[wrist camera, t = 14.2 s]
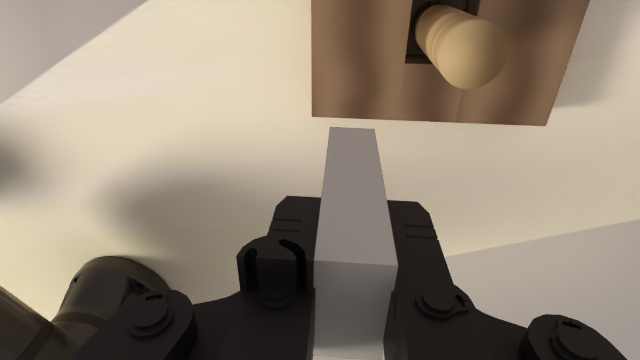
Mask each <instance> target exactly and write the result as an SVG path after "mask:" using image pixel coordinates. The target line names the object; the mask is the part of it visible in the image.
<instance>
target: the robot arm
mask: <svg viewBox="0 0 640 360" xmlns="http://www.w3.org/2000/svg"><path fill="white" fill-rule="evenodd" d="M236 258H237V266H238V274H239V282H240V291H239V292H237V293H235V294H233V295H231V296H229V297H226V298H222V299H219V300H214V301H209V302H204V303H199V304H194V305H192V303H191V302H190V300H189V298H188V297H187V296H186V295H184V294H183V293H181V292H179V291H177V290H170V289H169V287H168V286H167V285H166V283H165V282H164V281H163V280H162V279H161V278H160V277H159V276H158V275H157V274H155V273H154V272H153V271H151V270H150V269H148V268H147V267H145V266H143V265H141V264H139V263H136V262H134V261H131V260H127V259H124V258H118V257H100V258H96V259H93V260H91V261H89V262H87V263H86V264H85V265H84V266H83V267H82V268H81V269H80V270H79V271H78V272H77V273H76V275H75V276H74V277H73V279H72V281H71V283H70V286H69V288H68V290H67V292H66V295H65V297H64V299H63V302H62V304H61V307H60V309H59V311H58V313H57V315H56V316H55V317H54V319H53V320H52V321H51V322H50V321H48V320H47V319H46V318H44V317H43V316H42V315H40V314H39V313H37V312H36V311H35V310H33V309H32V308H31V307H29V306H28V305H26V304H25V303H24V302H22V301H21V300H19V299H18V298H17V297H15V296H14V295H13V294H11V293H10V292H8V291H7V290H6V289H4V288H3V287H1V286H0V360H312V359H313V356H325V357H337V358H350V359H363V360H382V355H383V350H384V357H385V360H627V359H626V358H625V357H624V356H623V355H622V354H621V353H620V352H619V351H618V350H617V349H616V348H615V347H614V346H613V345H612V344H611V343H610V342H609V341H608V340H607V339H606V338H604V337H603V336H602V335H601V334H599V333H598V332H597V331H596V330H594V329H593V328H591V327H589V326H587V325H585V324H583V323H582V322H580V321H578V320H575V319H572V318H568V317H565V316H562V315H548V314H545V315H542V316H539V317H537V318H535V319H533V321H532V322H531V324H530V325H529V327H528V328H525V327H522V326H518V325H516V324H513V323H510V322H506V321H503V320H500V319H497V318H494V317H492V316H490V315H487V314H484V313H483V312H481V311H479V310H478V309H476V308H475V306H474V304H473V303H472V301H471V299H470V298H469V296H468V295H467V294H466V293H464V292H463V291H462V290H460V288H458V287H457V286H456V285H454V284H453V281H452V278H451V276H450V273H449V270H448V267H447V264H446V261H445V258H444V255H443V252H442V249H441V246H440V243H439V240H437V235H436V232H435V229H434V226H433V223H432V220H431V217H430V214H429V213H428V212H427V211H426V210H425V209H424V208H423V207H422V206H421V205H420V204H419V203H418V202H411V201H394V200H387V198H386V193H385V187H384V181H383V175H382V170H381V164H380V158H379V152H378V147H377V141H376V135H375V129H362V128H341V127H330V131H329V139H328V148H327V156H326V164H325V173H324V181H323V189H322V198H317V197H299V196H286V197H285V198H284V199H283V200H282V201H281V202H280V203H279V204H278V205H277V206H276V209H275V212H274V215H273V220H272V222H271V225H270V228H269V231H268V234H267V235H266V236H263V237H260V238H257V239H254V240H252V241H251V242H249V243H248V244H246V245H245V246H243V247H242V249H241V250H240V252H239V253H238V255H237V256H236Z"/></svg>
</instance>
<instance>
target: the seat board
mask: <svg viewBox="0 0 640 360" xmlns="http://www.w3.org/2000/svg"><path fill="white" fill-rule="evenodd" d="M589 1H590V0H467V3H466V8H465V12H466V13H469V14H471V15H474V16H477V17H479V18H482V19H484V20H487V21H489V22H492V23H494V24H496V25H498V26H499V27H500V28H501V29H502V30H503V31H504V33H505V34H506V36H507V39H508V43H509V54H508V58H507V61H506V64H505V66H504V67H503V69H502V71H501V72H500V73H499V74H498V75H497V77H496V78H494V79H493V80H492V81H491V82H489V83H487V84H486V85H484V86H481V87H478V88H474V89H461V88H458V87H455V86H453V85H451V84H450V83H449V82H448V81H447V80H446V79H445V78H444V77H443V75H442V74H441V73H440V72H439V70H438V69H437V68H436V67H435V66H434V64H433V63H432V62H431V61H430V59H429V58H428V57H427V56H426V55H406V48H407V40H408V32H409V24H410V16H411V8H412V0H311V15H312V117H332V118H357V119H381V120H406V121H431V122H456V123H480V124H505V125H530V126H546V124H547V121H548V118H549V116H550V113H551V110H552V107H553V104H554V101H555V98H556V96H557V93H558V90H559V87H560V84H561V81H562V78H563V76H564V73H565V70H566V67H567V64H568V61H569V58H570V56H571V53H572V50H573V47H574V44H575V41H576V38H577V36H578V33H579V30H580V27H581V24H582V21H583V18H584V15H585V13H586V10H587V7H588V4H589Z"/></svg>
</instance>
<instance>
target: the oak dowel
mask: <svg viewBox="0 0 640 360" xmlns="http://www.w3.org/2000/svg"><path fill="white" fill-rule="evenodd" d="M411 35H412V37H413V39H414V41H415V42H416V43H417V44H418V46H419V47H420V48H421V49H422V51H423V52H424V53H425V54H426V56H427V57H428V58H429V59H430V61H431V62H432V63H433V64H434V66H435V67H436V68H437V69H438V70H439V72H440V73H441V74H442V75H443V77H444V78H445V79H446V80H447V81H448V82H449V83H450V84H451V85H453V86H455V87H458V88H461V89H474V88H478V87H481V86H484V85H486V84H487V83H489V82H491V81H492V80H493V79H494V78H496V77H497V75H498V74H499V73H500V72H501V71H502V69H503V67H504V66H505V64H506V61H507V58H508V54H509V43H508V39H507V36H506V34H505V33H504V31H503V30H502V29H501V28H500V27H499V26H498V25H496V24H494V23H492V22H489V21H487V20H484V19H482V18H479V17H477V16H474V15H471V14H469V13H466V12H464V11H461V10H459V9H456V8H454V7H451V6H448V5H446V4H443V3H440V2H431V3H427V4H425V5H423V6H422V7H421V8H419V9H418V10H417V12H416V13H415V15H414V16H413V18H412V21H411Z"/></svg>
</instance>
